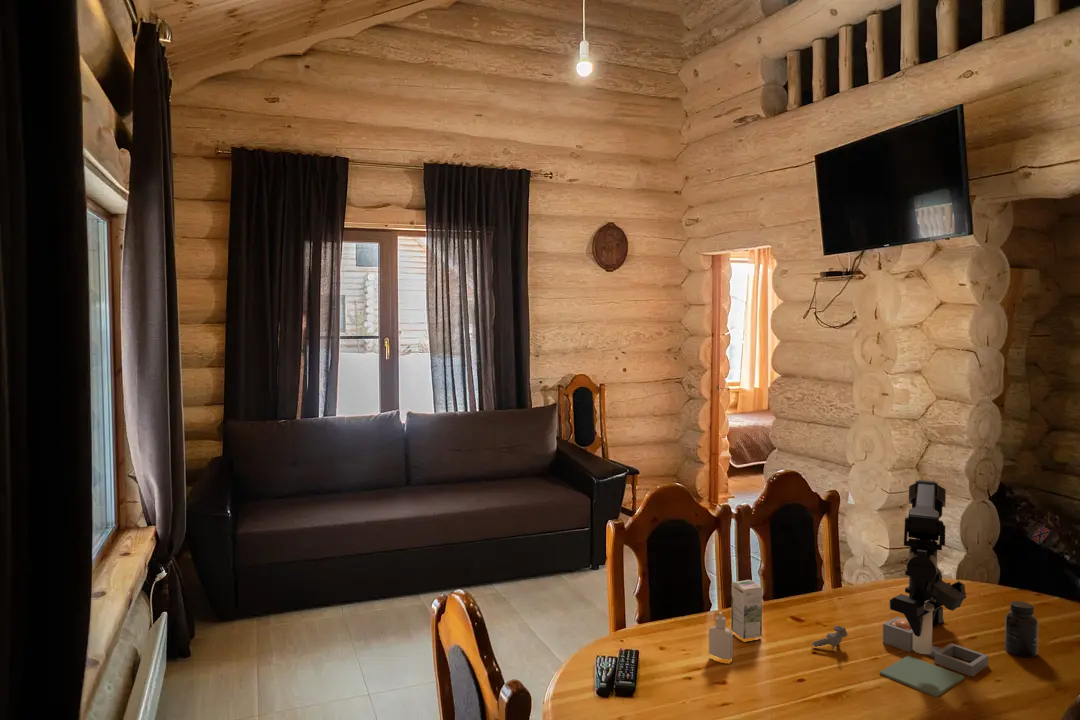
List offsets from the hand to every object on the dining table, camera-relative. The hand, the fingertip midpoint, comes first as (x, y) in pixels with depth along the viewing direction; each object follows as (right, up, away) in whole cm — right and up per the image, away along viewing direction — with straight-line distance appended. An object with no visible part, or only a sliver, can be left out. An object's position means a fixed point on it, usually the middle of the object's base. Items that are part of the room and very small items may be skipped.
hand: (922, 633), depth 169 cm
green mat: (0, -10, +1) cm, 10 cm away
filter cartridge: (0, -4, 0) cm, 4 cm away
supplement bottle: (+31, -9, +12) cm, 34 cm away
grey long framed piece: (+9, -9, +11) cm, 17 cm away
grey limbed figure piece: (-15, -10, +15) cm, 23 cm away
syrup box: (-34, -10, +23) cm, 42 cm away
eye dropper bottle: (-44, -11, +10) cm, 47 cm away
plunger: (+4, -9, +17) cm, 20 cm away
